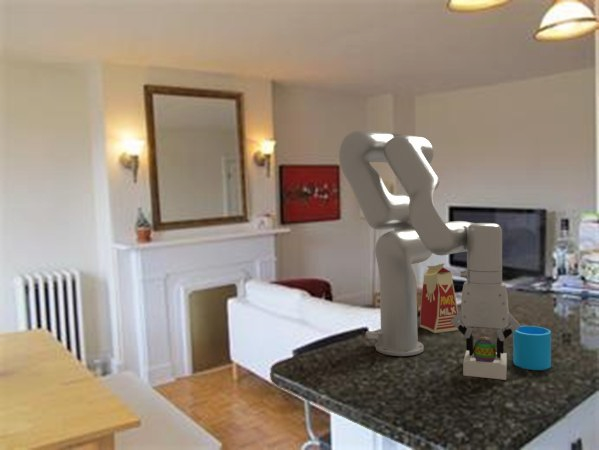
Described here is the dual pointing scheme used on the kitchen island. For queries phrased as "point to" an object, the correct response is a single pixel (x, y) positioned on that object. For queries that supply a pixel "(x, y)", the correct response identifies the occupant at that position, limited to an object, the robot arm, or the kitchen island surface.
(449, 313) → the milk carton
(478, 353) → the egg
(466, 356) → the square tray
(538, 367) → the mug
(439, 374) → the kitchen island surface
